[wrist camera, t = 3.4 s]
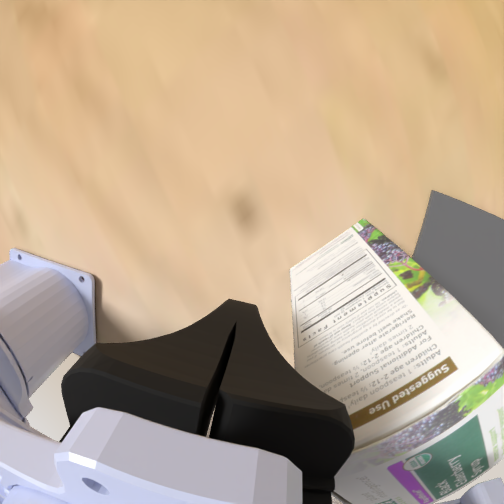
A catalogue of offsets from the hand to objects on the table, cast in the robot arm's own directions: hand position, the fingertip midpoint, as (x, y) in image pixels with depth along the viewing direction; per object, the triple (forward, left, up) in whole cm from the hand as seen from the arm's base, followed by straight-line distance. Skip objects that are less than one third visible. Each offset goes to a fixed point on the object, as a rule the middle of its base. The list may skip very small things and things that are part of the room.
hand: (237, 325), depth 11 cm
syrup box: (+6, 0, -9) cm, 11 cm away
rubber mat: (+18, 0, -8) cm, 20 cm away
